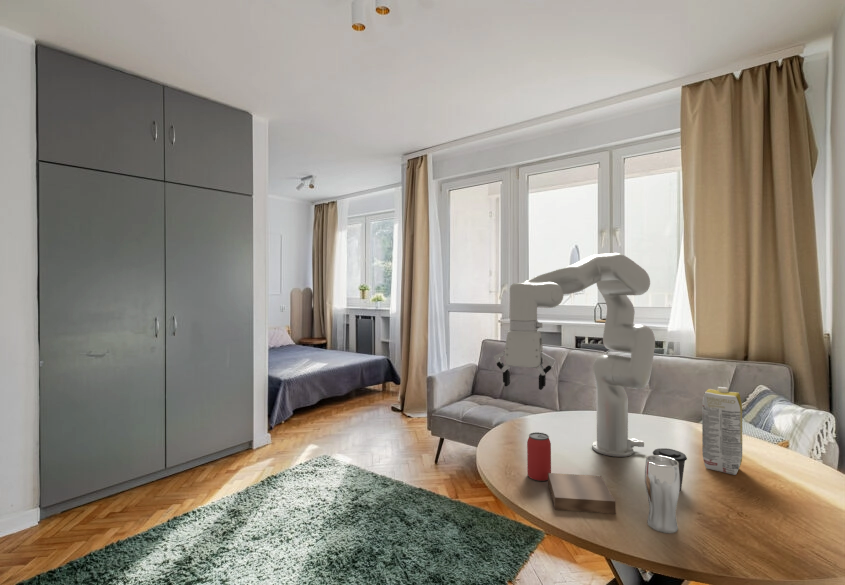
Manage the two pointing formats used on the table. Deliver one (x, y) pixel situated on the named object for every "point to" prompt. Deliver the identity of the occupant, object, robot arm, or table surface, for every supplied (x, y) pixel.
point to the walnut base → (581, 493)
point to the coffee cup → (675, 455)
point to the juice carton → (722, 430)
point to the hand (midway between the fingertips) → (523, 387)
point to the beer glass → (662, 492)
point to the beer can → (538, 456)
